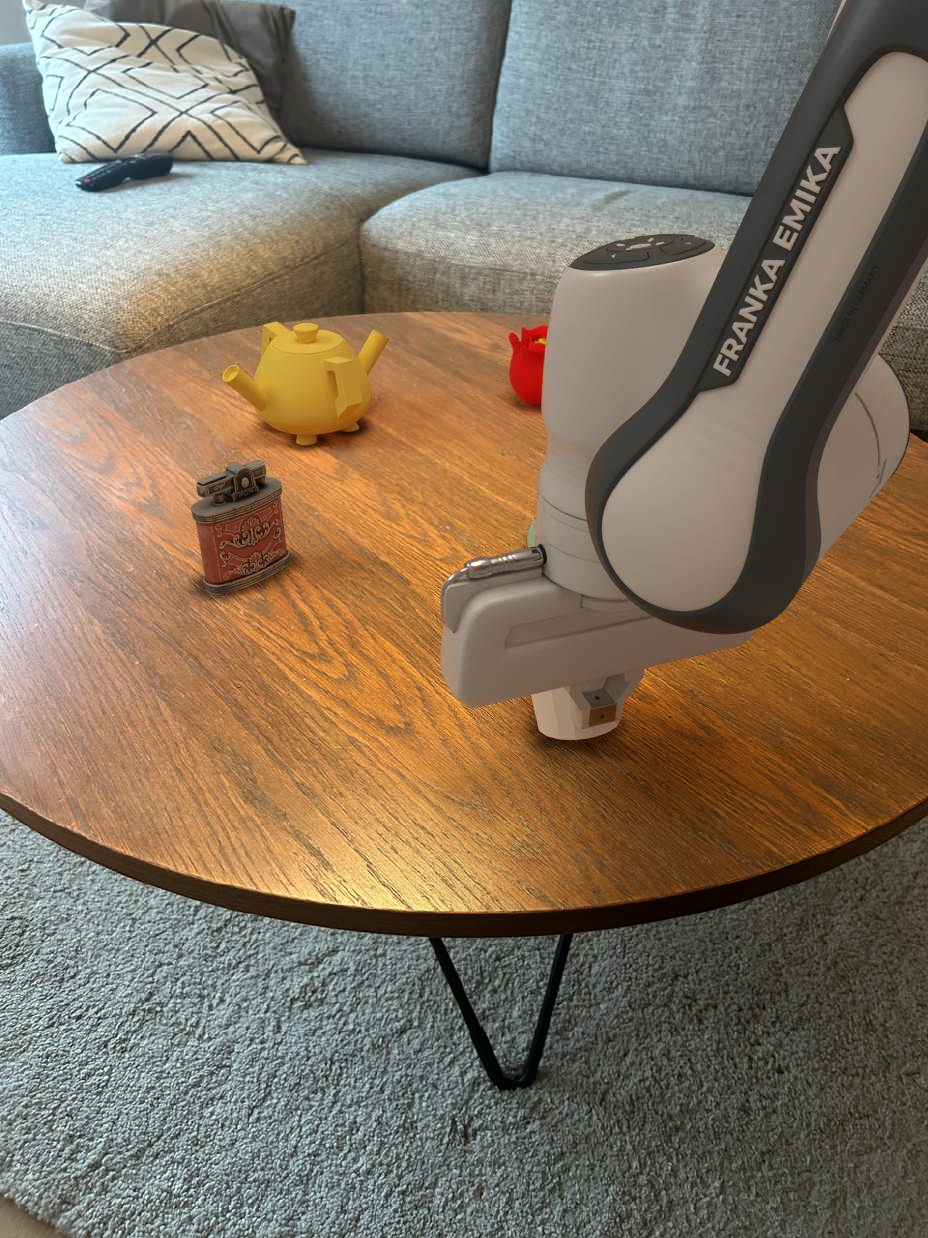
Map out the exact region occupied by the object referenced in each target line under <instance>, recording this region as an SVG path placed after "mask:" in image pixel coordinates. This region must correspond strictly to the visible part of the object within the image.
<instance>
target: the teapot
mask: <svg viewBox="0 0 928 1238" xmlns="http://www.w3.org/2000/svg"><path fill="white" fill-rule="evenodd" d="M292 329H293V330H290V329H288V328H286V327H285V326H284V325H282V324H281V323H280V322H279V321H277V320H276V321H272V322H269V323H265V324H263V325H262V337H261V348H260V361H259V362H258V365H257V368H256V371H255V373H254V377H253V379H252V378H251V377H250V376H249V374H247V373H246V372H245V371H244V370H242V368H240V367H239V366H238V365H237V364H232V365H229V366H228V367H227V368H226V369H225V370H224V371H223V373H222V376H221V379H222V381H223V382H224V383H226V384H227V385H228V386H229V387H230V388H231V389H233V390H234V391H236V393H238V394H239V395H240V396H241V397H242V398H244V399H245V401H247V402H248V403H250V404H251V405H252V407H253V409H254V411H255V413H256V414H257V415H258V416H259V418H261V419H262V421H264V422H265V423H266V424H268V425H269V426H270V427H272V428H273V429H275V430H277V431H280V432H283V433H286V434H292V435H296V439H295V442H296V444H298V445H300V446H311V445H313V444H316V443H317V442H318V436H317V435H323V434H331V433H335V432H338V431H342V432H345V433H347V432H348V433H349V432H351V433H352V432H355V431H357V430H359V429H360V426H359V424H358V422H359V420H360V419H361V418H362V417H363V416H364V414H365V413H366V412H367V411H368V409H369V407H370V406H371V403H372V399H373V397H372V388H371V384H370V380H369V375H370V373H371V372H372V369H373V368H374V367H375V364H376V363H377V361H378V360H379V358H380V357H381V354H382V353H383V351H384V349H386V346H387V345H388V342H389V341H390V338H388V337H387V336H385V335H383V334H381V333H380V332H379V331H376V329H372V330H371V332H370V334H369V336H368V337H367V339H366V341H365V343H364V344H363V345H362V347H361V350H360V351H359V353H358V354H356V353H355V351H354V350H353V348H352V347H351V346H350V345H349V343H348V342H347V341H346V340H345V339H344V338H343V337H342V336H341V335H340V334H339V333H336V332H333V331H331V330H326V329H319V325H318V324H316V323H313V322H302V323H298V324H296V325H294V326H293V328H292Z"/></svg>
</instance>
